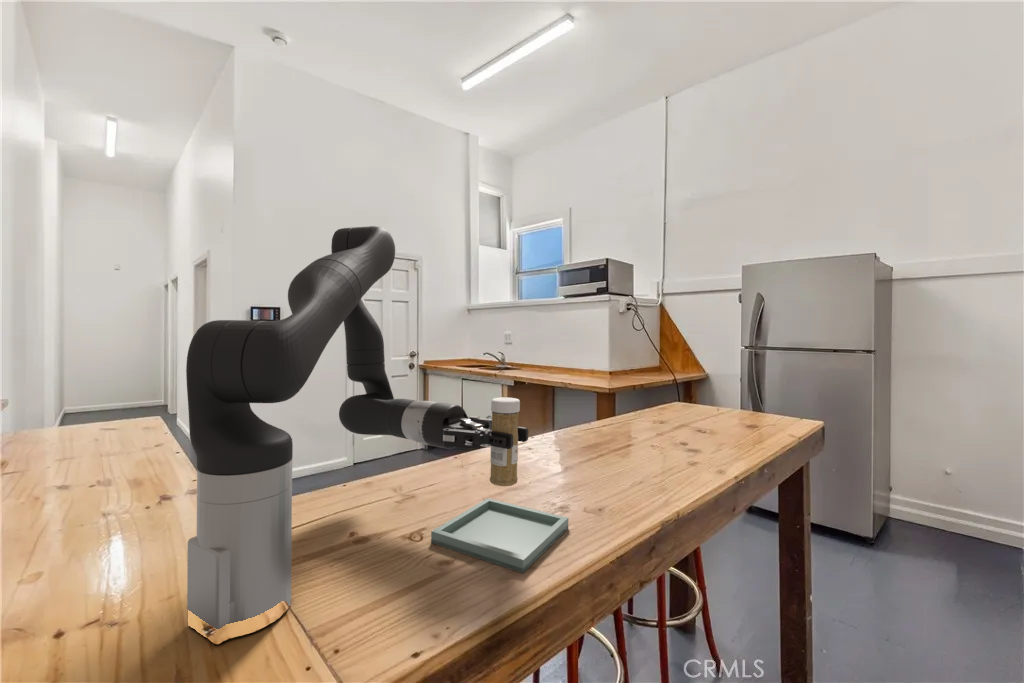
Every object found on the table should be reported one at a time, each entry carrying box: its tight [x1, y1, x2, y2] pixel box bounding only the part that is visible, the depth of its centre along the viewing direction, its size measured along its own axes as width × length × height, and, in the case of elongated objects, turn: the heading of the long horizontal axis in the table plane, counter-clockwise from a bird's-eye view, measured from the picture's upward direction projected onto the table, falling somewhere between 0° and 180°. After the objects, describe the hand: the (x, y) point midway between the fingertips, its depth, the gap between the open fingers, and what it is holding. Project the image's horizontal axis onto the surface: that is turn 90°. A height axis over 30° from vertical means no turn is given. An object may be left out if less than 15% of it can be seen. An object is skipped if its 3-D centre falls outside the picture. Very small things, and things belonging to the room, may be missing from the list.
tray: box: [430, 497, 569, 574], centre depth 71 cm, size 16×16×2 cm
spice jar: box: [489, 396, 521, 487], centre depth 70 cm, size 5×5×13 cm
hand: (519, 438), depth 69 cm, fingers closed on spice jar, 4 cm apart
